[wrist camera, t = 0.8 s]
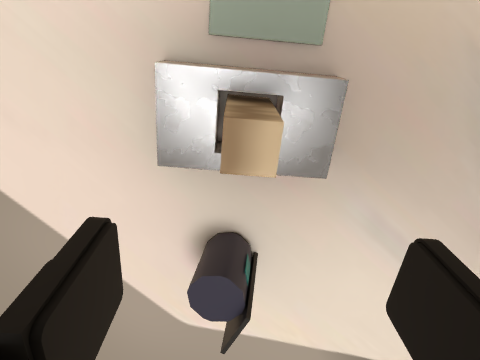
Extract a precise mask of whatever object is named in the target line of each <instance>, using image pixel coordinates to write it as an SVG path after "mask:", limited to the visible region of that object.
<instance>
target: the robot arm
mask: <svg viewBox="0 0 480 360" xmlns="http://www.w3.org/2000/svg"><path fill="white" fill-rule="evenodd" d="M122 295H123V283H122V273H121V263H120V253H119V243H118V233H117V225H116V224H115V223H111V220H110V219H109V218H99V217H89V218H87V219H86V221H85V222H84V223H83V224H82V225H81V226H80V228H79V229H78V230H77V231H76V232H75V234H74V235H73V236H72V237H71V238H70V239H69V241H68V242H67V243H66V244H65V245H64V246H63V248H62V249H61V250H60V251H59V252H58V254H57V255H56V256H55V257H54V258H53V259H52V260H50V261H49V262H47V263H46V264H45V266H44V267H43V268H42V269H41V270H40V271H39V273H38V274H37V275H36V276H35V277H34V278H33V280H32V281H31V282H30V283H29V284H28V285H27V286H26V287H25V289H24V290H23V291H22V292H21V293H20V294H19V296H18V297H17V298H16V299H15V301H14V302H13V303H12V304H11V305H10V306H9V307H8V308H7V310H6V311H5V312H4V313H3V314H2V315H1V317H0V360H95V359H96V356H97V354H98V352H99V350H100V347H101V345H102V343H103V341H104V338H105V336H106V334H107V331H108V329H109V327H110V324H111V322H112V320H113V318H114V316H115V314H116V311H117V309H118V307H119V305H120V302H121V300H122ZM386 311H387V314H388V316H389V318H390V320H391V322H392V323H393V325H394V327H395V329H396V331H397V332H398V334H399V336H400V338H401V339H402V341H403V343H404V345H405V347H406V348H407V350H408V352H409V354H410V355H411V357H412V359H413V360H480V279H479V278H478V277H477V276H476V275H475V274H474V273H473V272H472V271H471V270H470V269H469V268H468V267H467V266H466V265H464V264H463V263H462V262H461V261H460V260H459V259H458V258H457V257H456V256H455V255H454V254H453V253H452V252H451V251H450V250H449V249H448V248H447V247H446V246H445V245H444V244H443V243H442V242H440V241H439V240H436V239H421V238H419V239H416V240H415V241H414V243H411V244H410V245H409V247H408V250H407V252H406V255H405V257H404V260H403V262H402V265H401V267H400V270H399V273H398V275H397V278H396V280H395V283H394V285H393V288H392V290H391V293H390V295H389V298H388V301H387V303H386Z"/></svg>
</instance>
